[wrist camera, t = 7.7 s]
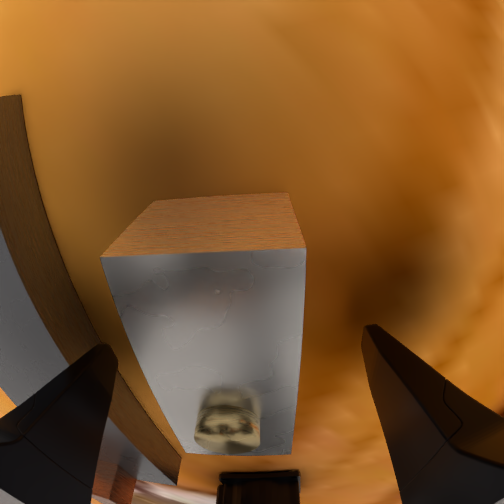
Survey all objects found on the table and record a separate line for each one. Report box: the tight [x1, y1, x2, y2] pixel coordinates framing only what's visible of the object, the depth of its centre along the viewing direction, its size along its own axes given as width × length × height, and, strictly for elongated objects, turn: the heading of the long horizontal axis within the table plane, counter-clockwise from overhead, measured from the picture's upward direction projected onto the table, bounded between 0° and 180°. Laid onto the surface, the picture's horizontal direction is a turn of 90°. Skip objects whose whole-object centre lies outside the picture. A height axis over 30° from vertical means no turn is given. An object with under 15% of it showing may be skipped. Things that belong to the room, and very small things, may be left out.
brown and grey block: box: [100, 192, 306, 456], centre depth 9 cm, size 9×4×5 cm, turn 3°
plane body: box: [0, 95, 181, 504], centre depth 10 cm, size 24×9×6 cm, turn 8°
